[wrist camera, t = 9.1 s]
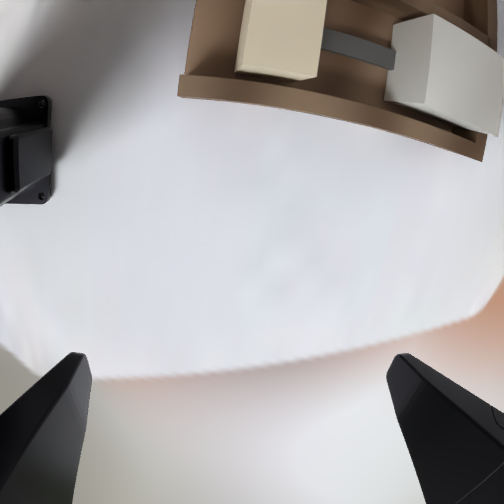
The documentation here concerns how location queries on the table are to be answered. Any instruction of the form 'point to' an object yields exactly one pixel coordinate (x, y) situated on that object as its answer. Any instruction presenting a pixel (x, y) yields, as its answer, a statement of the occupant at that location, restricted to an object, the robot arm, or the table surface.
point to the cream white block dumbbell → (381, 60)
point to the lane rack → (334, 67)
